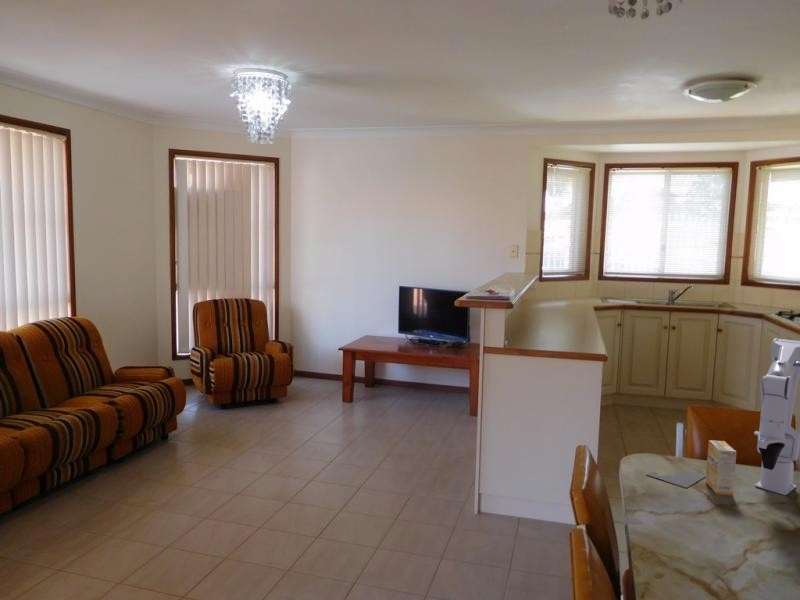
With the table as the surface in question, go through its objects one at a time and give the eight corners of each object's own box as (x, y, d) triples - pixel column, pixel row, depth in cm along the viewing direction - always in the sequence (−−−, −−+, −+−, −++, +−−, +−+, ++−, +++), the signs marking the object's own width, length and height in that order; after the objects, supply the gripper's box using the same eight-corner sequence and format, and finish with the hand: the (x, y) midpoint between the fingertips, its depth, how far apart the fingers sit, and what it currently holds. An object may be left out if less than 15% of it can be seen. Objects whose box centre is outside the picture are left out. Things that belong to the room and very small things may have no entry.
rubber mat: (665, 465, 187) (666, 464, 187) (705, 477, 178) (705, 476, 178) (646, 475, 178) (646, 474, 178) (686, 488, 169) (686, 487, 169)
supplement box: (704, 482, 174) (707, 439, 173) (721, 483, 173) (725, 440, 172) (715, 494, 166) (718, 449, 164) (733, 495, 165) (737, 450, 164)
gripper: (765, 411, 166) (761, 458, 167) (746, 420, 156) (742, 470, 158) (794, 417, 161) (790, 465, 162) (776, 427, 151) (772, 478, 152)
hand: (768, 468), depth 159 cm, fingers closed
